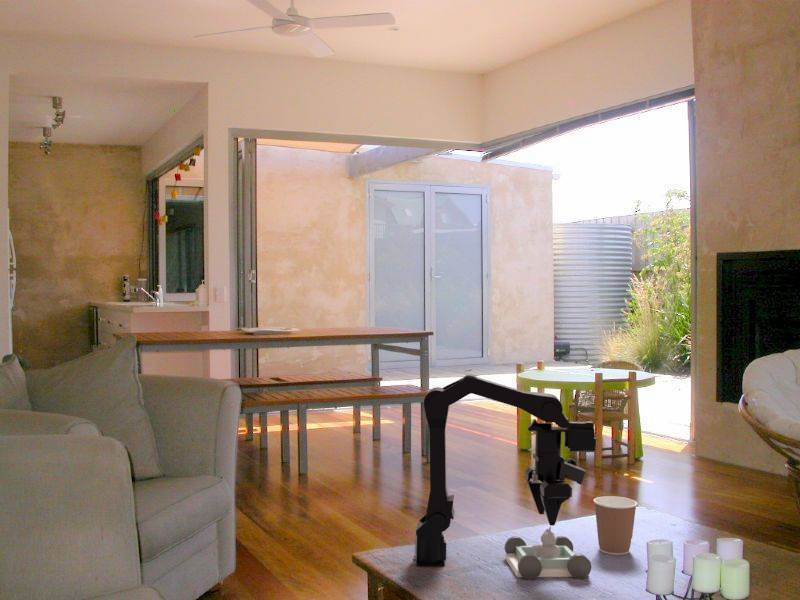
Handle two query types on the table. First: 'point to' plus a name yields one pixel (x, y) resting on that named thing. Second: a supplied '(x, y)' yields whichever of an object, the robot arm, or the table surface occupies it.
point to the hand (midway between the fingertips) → (546, 519)
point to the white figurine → (547, 546)
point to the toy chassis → (546, 560)
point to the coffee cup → (615, 523)
